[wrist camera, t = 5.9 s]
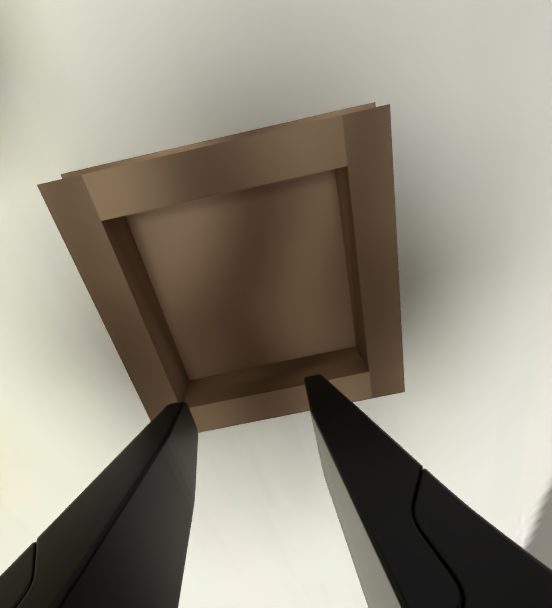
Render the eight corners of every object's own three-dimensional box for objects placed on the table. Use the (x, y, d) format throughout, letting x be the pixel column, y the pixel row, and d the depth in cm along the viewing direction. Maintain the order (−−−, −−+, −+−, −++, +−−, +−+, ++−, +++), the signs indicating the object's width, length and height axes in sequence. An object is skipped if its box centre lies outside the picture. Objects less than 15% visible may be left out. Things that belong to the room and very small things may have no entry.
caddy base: (371, 103, 13) (397, 93, 10) (390, 363, 18) (410, 395, 15) (66, 173, 13) (25, 178, 11) (169, 407, 18) (157, 444, 16)
